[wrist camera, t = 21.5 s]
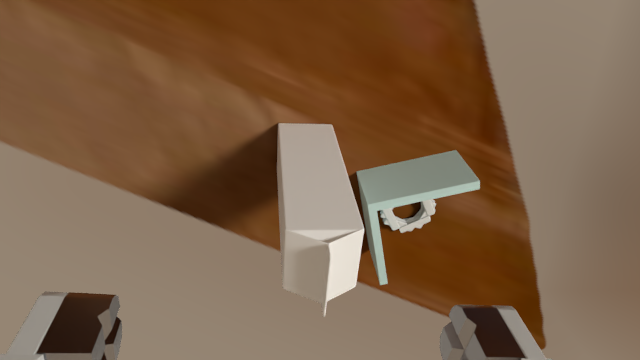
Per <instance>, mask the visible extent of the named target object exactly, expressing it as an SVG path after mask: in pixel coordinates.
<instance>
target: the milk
mask: <svg viewBox="0 0 640 360" xmlns="http://www.w3.org/2000/svg"><path fill="white" fill-rule="evenodd" d="M277 182H278V203H279V223H280V244H281V264H282V285H283V288H284V289H285V290H288V291H290V292H293V293H295V294H298V295H300V296H303V297H305V298H308V299H311V300H313V301H316V302H318V303H321V305H322V312H323V316H324V317H325V314H326V304H327V301H329V300H331V299H333V298H335V297H337V296H338V295H340V294H342V293H344V292H346V291H348V290H350V289H352V288H354V287H355V286H356V281H357V275H358V268H359V261H360V255H361V248H362V242H363V235H364V226H363V223H362V219H361V216H360V213H359V210H358V206H357V203H356V200H355V197H354V194H353V190H352V187H351V184H350V181H349V177H348V174H347V171H346V168H345V165H344V161H343V158H342V155H341V152H340V149H339V145H338V142H337V139H336V136H335V132H334V129H333V126H332V124H292V123H278V146H277Z"/></svg>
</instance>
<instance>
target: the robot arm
mask: <svg viewBox="0 0 640 360" xmlns="http://www.w3.org/2000/svg"><path fill="white" fill-rule="evenodd" d="M119 308H120V304H119V297H118V296H117V295H107V294H88V293H63V292H44V293H43V294H42V295H40V296H39V297H38V299H37V301H36V302H35V304H34V306H33V308H32V309H31V311H30V313H29V315H28V316H27V318H26V320H25V321H24V323H23V325H22V327H21V328H20V330H19V332H18V334H17V335H16V337H15V339H14V340H13V342H12V344H11V346H10V347H9V349H8V351H7V353H6V354H0V360H117V356H118V353H119V348H120V343H121V338H122V323H121V320H120V319H119V318H118V317H117V313H118V311H119ZM449 317H450V319H451V323H449V324H447V325H446V326H445V327H444V328H443V330H442V333H441V336H440V351H441V356H442V358H443V360H552V359H546V358H545V356H544V354H543V353H542V351H541V350H540V348H539V346H538V345H537V343H536V342H535V340H534V338H533V337H532V335H531V334H530V332H529V330H528V329H527V327H526V326H525V324H524V323H523V321H522V319H521V318H520V316H519V315H518V313H517V311H516V310H515V309H514V308H513V307H511V306H488V305H455V306H454V307H453V308H452V309H451V311H450V314H449Z"/></svg>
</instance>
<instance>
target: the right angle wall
mask: <svg viewBox="0 0 640 360" xmlns="http://www.w3.org/2000/svg"><path fill="white" fill-rule="evenodd" d="M357 178H358V184H359V190H360V196H361V202H362V208H363V214H364V221H365V227H366V233H367V239H368V245H369V249H370V253H371V256H372V259H373V263H374V266H375V269H376V272H377V276H378V279H379V282H380V285H383V284H388V283H387V276H386V269H385V262H384V256H383V249H382V242H381V235H380V228H379V221H378V214H377V211H379V210H381V212H380V214H381V216H380V217H381V218H383V221H384V224H386V225H390V227H391V228H392V230H397V229H399V230H400V232H401V233H403V232H405V231H412V230H413V229H414V228H415V227H416V228H421V227H422V226H423V224H425V223H427V222H430V221H431V220H430V215H433V214H435V206H436V204H435V201H434V200H433V199H435V198H440V197H444V196H449V195H454V194H459V193H463V192H468V191H473V190H477V189H480V180H479V179H478V178H477V176H476V175H475V174H474V173H473V171H472V170H471V169H470V167H469V166H468V165H467V164H466V162H465V161H464V160H463V158H462V157H461V156H460V155H459V153H458V152H457V151H456V150H454V151H450V152H445V153H440V154H436V155H431V156H427V157H422V158H417V159H413V160H408V161H403V162H399V163H394V164H389V165H385V166H380V167H375V168H371V169H366V170H361V171H357ZM416 202H421V209H420V210H419V211H418V213H417V214H416V215H415V216H414V217H412V218H406V219H400V218H398V217H396V216H394V214H393V212H392V209H393V208H394V207H397V206H402V205H407V204H412V203H416Z"/></svg>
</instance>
